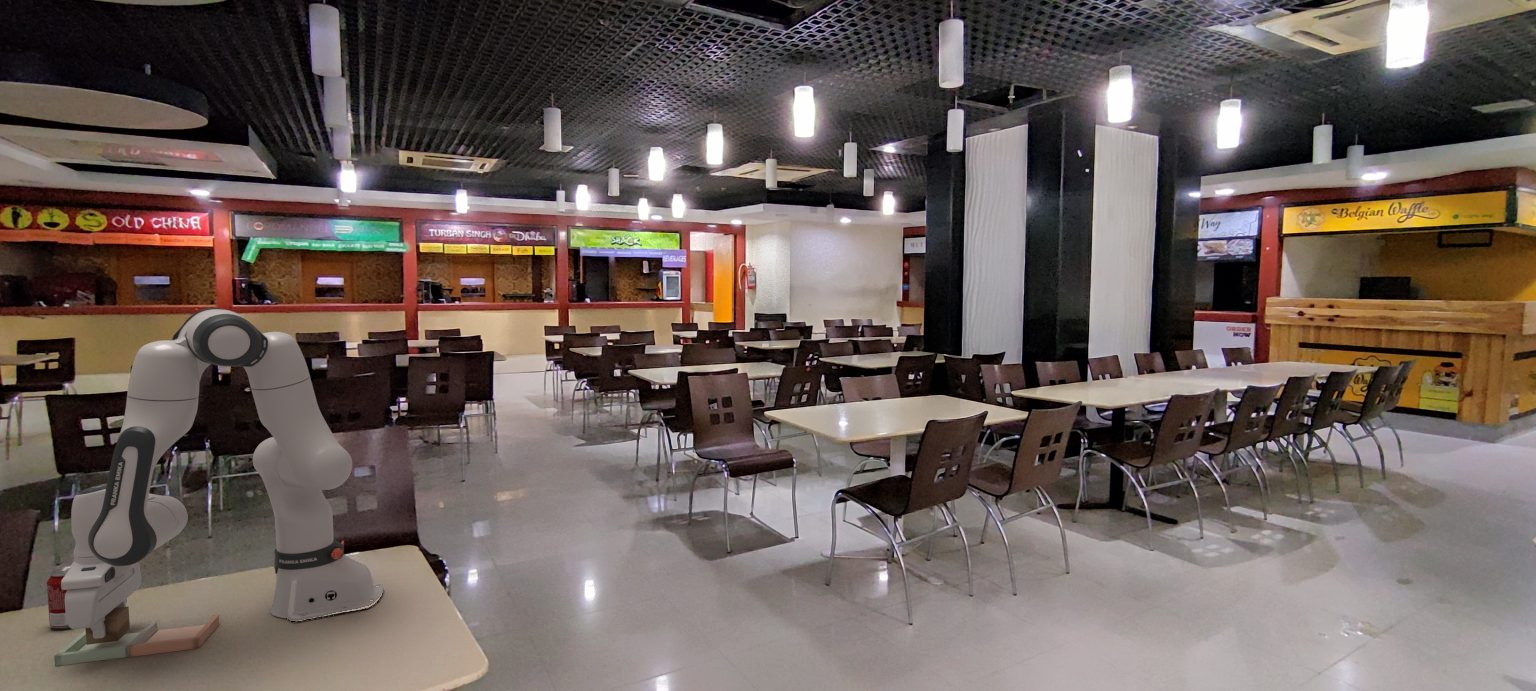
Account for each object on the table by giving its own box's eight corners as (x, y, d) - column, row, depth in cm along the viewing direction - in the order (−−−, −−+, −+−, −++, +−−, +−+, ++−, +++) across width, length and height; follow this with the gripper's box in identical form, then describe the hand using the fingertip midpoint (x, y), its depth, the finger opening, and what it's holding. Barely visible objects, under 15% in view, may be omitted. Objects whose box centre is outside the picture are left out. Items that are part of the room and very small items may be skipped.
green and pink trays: (219, 623, 157) (218, 614, 157) (198, 648, 147) (198, 638, 147) (86, 638, 149) (86, 629, 149) (54, 666, 139) (54, 656, 139)
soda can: (66, 632, 152) (62, 577, 151) (41, 629, 153) (37, 574, 152) (101, 618, 158) (98, 565, 157) (77, 614, 160) (73, 562, 159)
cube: (129, 629, 150) (128, 606, 149) (118, 640, 145) (116, 616, 145) (99, 633, 148) (98, 609, 148) (86, 644, 143) (84, 620, 143)
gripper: (112, 546, 154) (116, 609, 155) (55, 585, 135) (60, 656, 136) (148, 543, 156) (152, 605, 157) (97, 581, 137) (102, 651, 138)
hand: (109, 629), depth 146 cm, fingers closed on cube, 5 cm apart
